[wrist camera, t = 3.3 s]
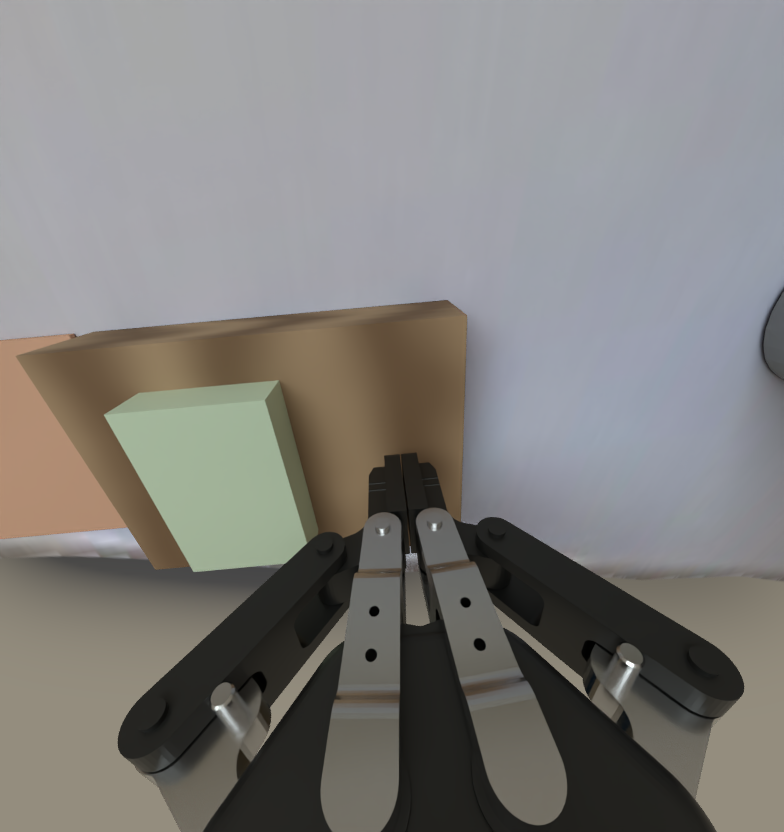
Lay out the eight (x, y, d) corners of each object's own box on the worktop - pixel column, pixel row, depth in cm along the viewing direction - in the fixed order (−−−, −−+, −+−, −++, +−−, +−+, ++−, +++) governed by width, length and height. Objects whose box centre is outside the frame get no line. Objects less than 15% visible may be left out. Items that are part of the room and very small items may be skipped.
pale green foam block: (279, 380, 14) (264, 400, 12) (318, 529, 18) (312, 561, 16) (138, 393, 14) (103, 414, 12) (211, 539, 18) (193, 571, 16)
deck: (447, 300, 16) (467, 315, 13) (446, 495, 22) (460, 541, 19) (93, 331, 16) (15, 356, 13) (190, 518, 22) (155, 569, 19)
